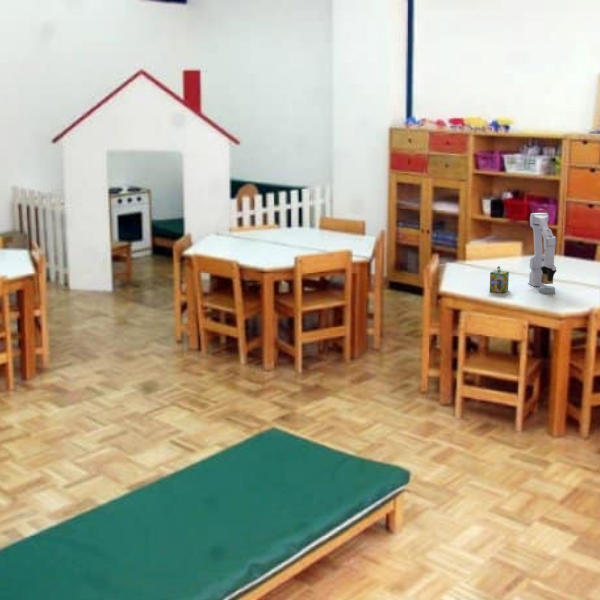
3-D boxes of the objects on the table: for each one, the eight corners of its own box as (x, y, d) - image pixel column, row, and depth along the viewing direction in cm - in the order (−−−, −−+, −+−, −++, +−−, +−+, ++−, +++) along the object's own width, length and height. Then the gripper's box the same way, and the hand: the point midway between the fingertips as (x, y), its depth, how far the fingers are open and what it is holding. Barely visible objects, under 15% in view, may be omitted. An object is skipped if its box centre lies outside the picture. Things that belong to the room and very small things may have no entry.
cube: (541, 282, 520) (541, 274, 519) (548, 281, 521) (549, 273, 520) (545, 284, 515) (545, 275, 514) (552, 283, 516) (553, 275, 515)
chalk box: (504, 293, 518) (505, 268, 514) (488, 291, 522) (490, 267, 519) (508, 290, 526) (509, 265, 522) (493, 288, 530) (494, 264, 526)
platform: (536, 291, 523) (536, 286, 522) (549, 290, 525) (549, 285, 524) (544, 295, 514) (544, 290, 514) (557, 293, 517) (558, 288, 516)
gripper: (537, 255, 521) (535, 277, 524) (548, 260, 507) (547, 283, 510) (548, 254, 522) (546, 277, 525) (560, 259, 508) (558, 282, 512)
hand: (547, 279), depth 518 cm, fingers closed on cube, 5 cm apart
